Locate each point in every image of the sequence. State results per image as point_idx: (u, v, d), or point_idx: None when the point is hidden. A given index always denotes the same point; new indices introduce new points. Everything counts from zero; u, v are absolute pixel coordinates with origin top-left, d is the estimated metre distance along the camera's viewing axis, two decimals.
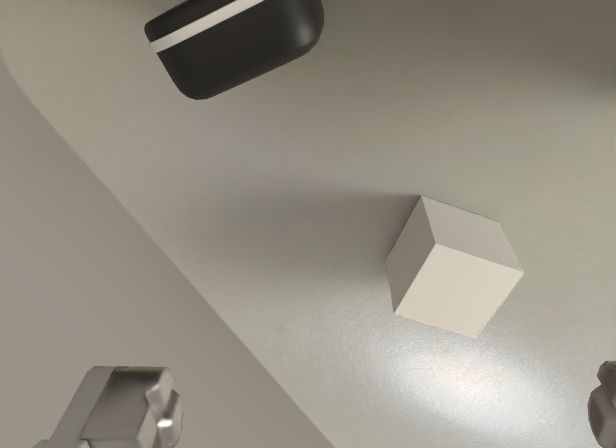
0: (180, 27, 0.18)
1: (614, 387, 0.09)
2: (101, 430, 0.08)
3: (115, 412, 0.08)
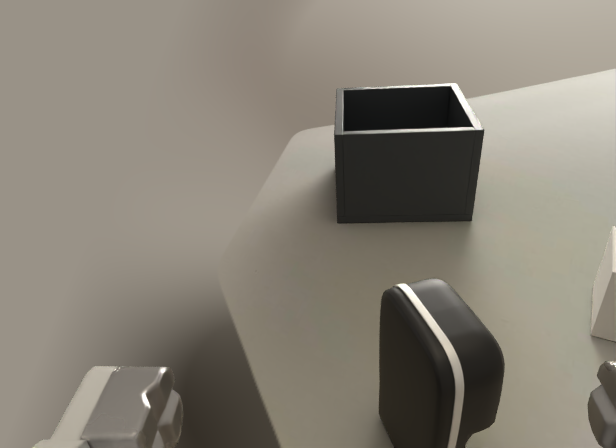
0: (435, 337, 0.22)
1: (614, 387, 0.09)
2: (101, 430, 0.08)
3: (115, 412, 0.08)
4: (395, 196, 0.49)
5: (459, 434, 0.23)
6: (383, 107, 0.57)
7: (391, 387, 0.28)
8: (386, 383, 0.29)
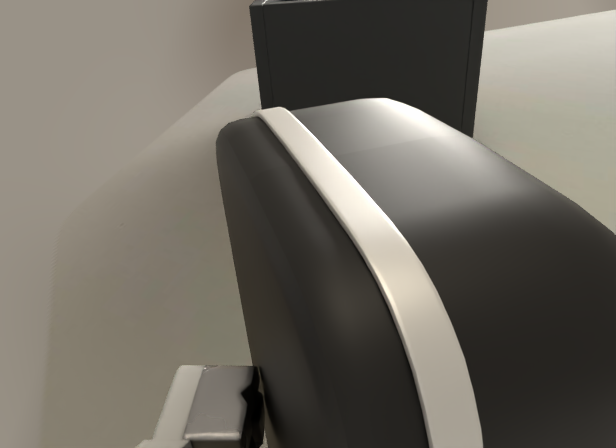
0: (335, 225, 0.05)
1: None
2: (202, 430, 0.08)
3: (214, 412, 0.08)
4: None
5: None
6: None
7: (272, 433, 0.10)
8: (266, 421, 0.11)
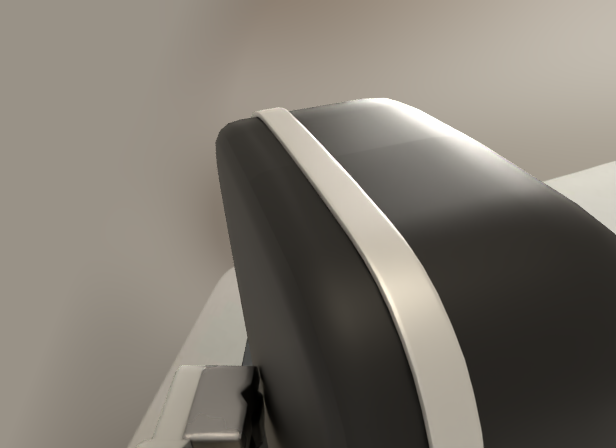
0: (335, 227, 0.05)
1: None
2: (202, 430, 0.08)
3: (213, 412, 0.08)
4: None
5: None
6: None
7: (271, 434, 0.10)
8: (266, 422, 0.11)
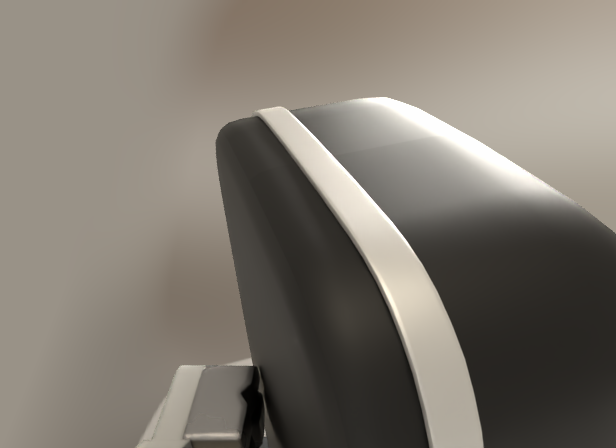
0: (335, 225, 0.05)
1: None
2: (202, 430, 0.08)
3: (214, 412, 0.08)
4: None
5: None
6: None
7: (272, 433, 0.10)
8: (266, 421, 0.11)
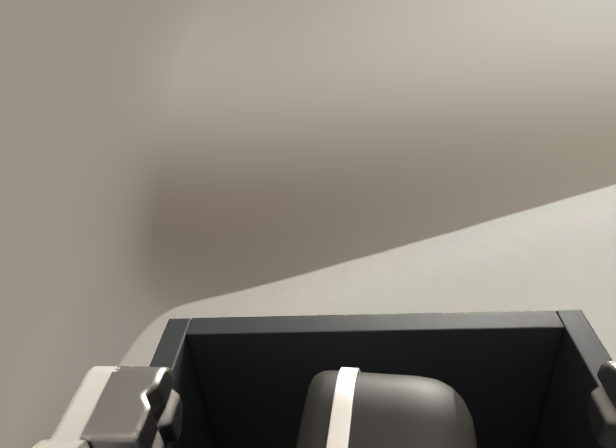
0: None
1: (614, 387, 0.09)
2: (101, 430, 0.08)
3: (115, 412, 0.08)
4: None
5: None
6: None
7: None
8: None
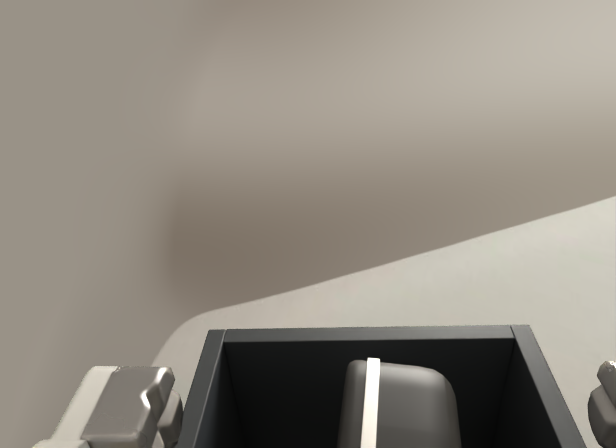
0: None
1: (614, 387, 0.09)
2: (101, 430, 0.08)
3: (115, 412, 0.08)
4: None
5: None
6: (332, 377, 0.22)
7: None
8: None
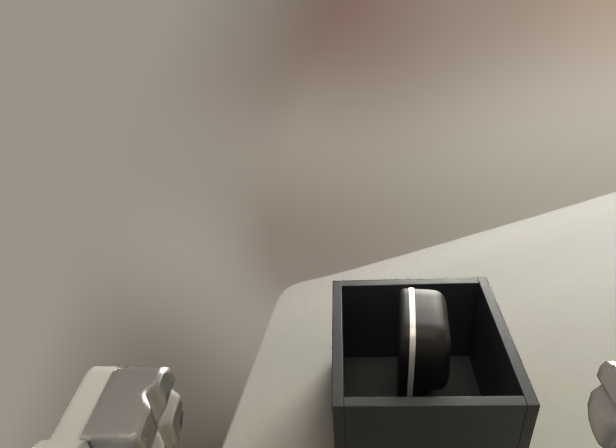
0: (409, 320, 0.36)
1: (614, 387, 0.09)
2: (101, 430, 0.08)
3: (115, 412, 0.08)
4: None
5: (415, 386, 0.37)
6: (392, 304, 0.45)
7: None
8: None
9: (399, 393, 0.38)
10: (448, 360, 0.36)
